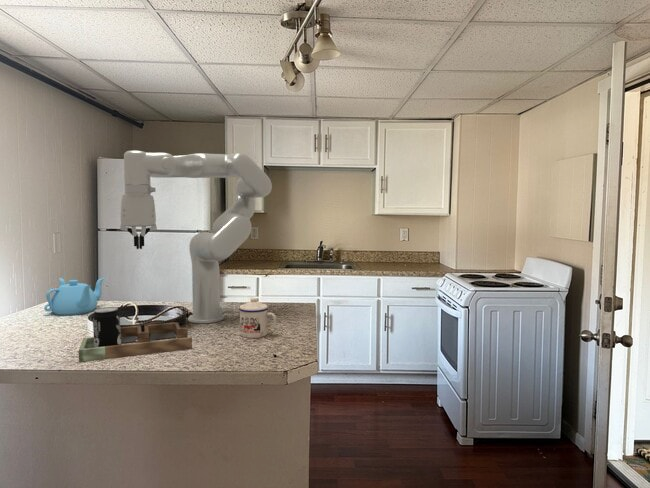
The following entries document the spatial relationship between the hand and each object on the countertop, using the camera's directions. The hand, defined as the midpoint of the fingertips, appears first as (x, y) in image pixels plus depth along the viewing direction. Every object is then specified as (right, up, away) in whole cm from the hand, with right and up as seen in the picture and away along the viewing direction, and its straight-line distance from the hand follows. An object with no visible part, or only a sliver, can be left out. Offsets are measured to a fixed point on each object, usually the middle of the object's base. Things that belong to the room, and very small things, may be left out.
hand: (139, 248), depth 134 cm
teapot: (-37, -25, +30) cm, 54 cm away
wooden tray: (+5, -28, -11) cm, 30 cm away
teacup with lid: (+38, -28, 0) cm, 47 cm away
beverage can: (0, -29, -18) cm, 34 cm away
